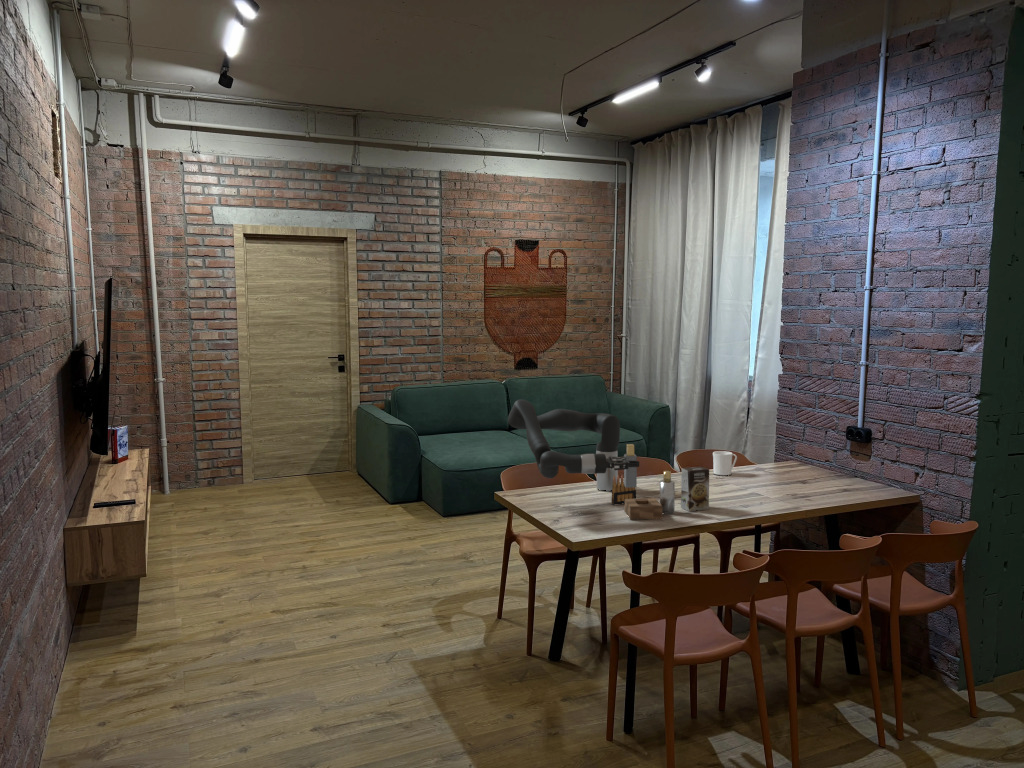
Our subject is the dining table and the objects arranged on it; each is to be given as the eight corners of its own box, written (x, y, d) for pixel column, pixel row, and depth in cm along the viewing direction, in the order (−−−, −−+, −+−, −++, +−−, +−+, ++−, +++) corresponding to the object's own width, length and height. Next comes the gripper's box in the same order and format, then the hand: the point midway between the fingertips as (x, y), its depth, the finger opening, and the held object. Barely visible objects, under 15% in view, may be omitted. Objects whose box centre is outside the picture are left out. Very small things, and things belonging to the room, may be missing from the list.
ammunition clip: (634, 501, 296) (634, 472, 295) (636, 502, 294) (636, 473, 293) (611, 504, 292) (611, 475, 291) (613, 505, 290) (613, 476, 289)
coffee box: (688, 511, 278) (689, 470, 277) (680, 507, 285) (680, 467, 283) (709, 509, 281) (709, 468, 279) (700, 505, 287) (701, 465, 286)
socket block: (624, 511, 281) (624, 498, 281) (655, 510, 281) (655, 497, 281) (630, 520, 269) (630, 507, 269) (662, 519, 269) (662, 506, 269)
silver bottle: (658, 510, 281) (658, 470, 280) (672, 510, 281) (672, 469, 280) (661, 514, 276) (661, 473, 274) (676, 514, 276) (676, 473, 274)
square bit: (624, 484, 276) (624, 443, 274) (634, 484, 276) (634, 443, 274) (626, 487, 272) (626, 445, 270) (636, 487, 272) (636, 445, 270)
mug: (712, 476, 337) (712, 454, 336) (712, 471, 345) (713, 450, 344) (736, 477, 333) (737, 455, 332) (736, 472, 342) (736, 451, 341)
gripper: (590, 469, 280) (634, 468, 280) (595, 477, 266) (641, 476, 266) (590, 450, 279) (634, 449, 279) (595, 457, 265) (641, 456, 265)
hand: (637, 462), depth 273 cm, fingers closed on square bit, 4 cm apart
